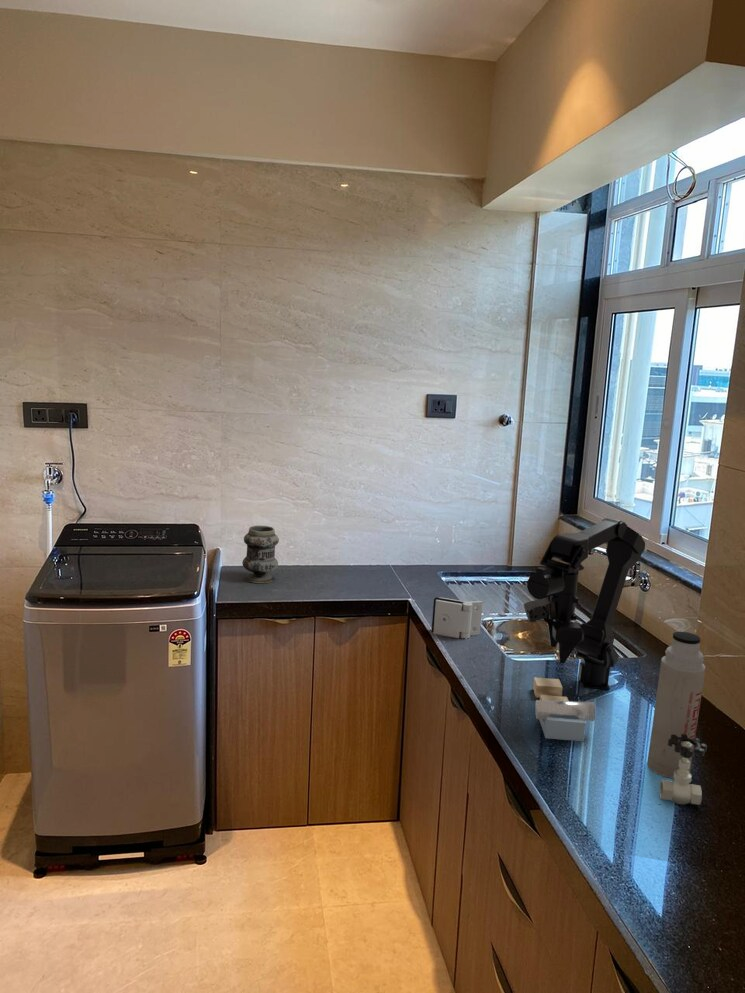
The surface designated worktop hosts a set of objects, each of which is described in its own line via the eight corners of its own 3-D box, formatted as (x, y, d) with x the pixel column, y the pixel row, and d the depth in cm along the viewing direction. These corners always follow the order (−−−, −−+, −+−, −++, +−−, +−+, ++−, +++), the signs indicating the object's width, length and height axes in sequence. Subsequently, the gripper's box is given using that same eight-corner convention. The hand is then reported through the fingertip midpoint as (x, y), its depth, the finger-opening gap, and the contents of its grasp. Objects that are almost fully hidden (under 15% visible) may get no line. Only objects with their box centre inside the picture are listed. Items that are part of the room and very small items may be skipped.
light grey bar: (590, 715, 163) (591, 698, 162) (594, 724, 159) (595, 707, 158) (534, 713, 163) (535, 696, 162) (537, 722, 159) (538, 705, 158)
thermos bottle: (698, 773, 147) (719, 640, 142) (670, 782, 143) (690, 645, 138) (666, 754, 154) (684, 625, 149) (638, 761, 150) (656, 630, 145)
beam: (557, 690, 181) (559, 679, 180) (569, 718, 167) (570, 705, 167) (532, 688, 181) (534, 677, 181) (542, 716, 167) (543, 703, 167)
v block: (575, 722, 165) (577, 705, 164) (583, 741, 157) (585, 722, 156) (539, 720, 166) (541, 702, 165) (545, 738, 158) (547, 719, 157)
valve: (701, 816, 133) (711, 754, 131) (663, 809, 134) (671, 748, 132) (693, 795, 140) (702, 736, 137) (656, 789, 141) (665, 731, 139)
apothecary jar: (274, 585, 249) (276, 533, 245) (238, 583, 249) (240, 531, 245) (279, 575, 261) (281, 525, 257) (245, 573, 261) (246, 523, 257)
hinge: (479, 634, 216) (482, 601, 214) (479, 641, 210) (482, 607, 209) (431, 629, 217) (434, 596, 215) (430, 636, 212) (433, 602, 210)
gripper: (521, 576, 179) (515, 637, 182) (536, 602, 161) (530, 670, 164) (567, 578, 179) (561, 639, 182) (588, 605, 160) (580, 672, 164)
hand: (557, 654), depth 173 cm, fingers open, 9 cm apart
